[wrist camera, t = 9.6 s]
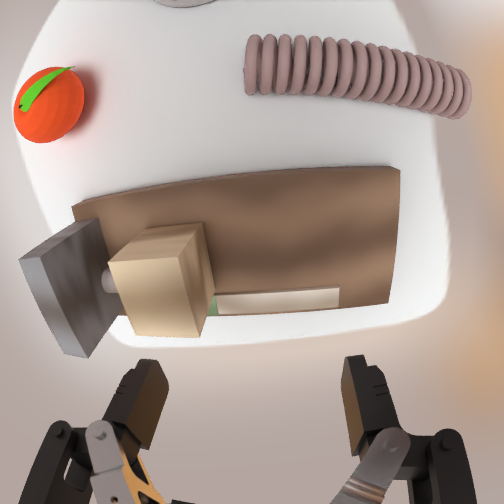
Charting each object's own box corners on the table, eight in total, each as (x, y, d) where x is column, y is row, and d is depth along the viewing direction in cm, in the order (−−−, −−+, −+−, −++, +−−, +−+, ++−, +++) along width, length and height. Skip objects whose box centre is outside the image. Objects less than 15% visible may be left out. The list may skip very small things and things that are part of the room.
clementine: (90, 49, 16) (41, 36, 10) (119, 98, 19) (67, 94, 12) (41, 104, 19) (-8, 108, 12) (65, 152, 21) (13, 167, 14)
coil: (237, 94, 15) (477, 126, 14) (235, 28, 13) (478, 71, 11) (244, 96, 19) (446, 118, 18) (242, 42, 17) (447, 71, 15)
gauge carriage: (115, 232, 22) (75, 264, 16) (202, 222, 21) (177, 257, 15) (141, 313, 25) (116, 354, 20) (220, 312, 24) (207, 361, 19)
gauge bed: (83, 200, 23) (11, 240, 14) (390, 166, 20) (460, 196, 11) (116, 304, 28) (72, 366, 19) (381, 291, 25) (419, 365, 16)
